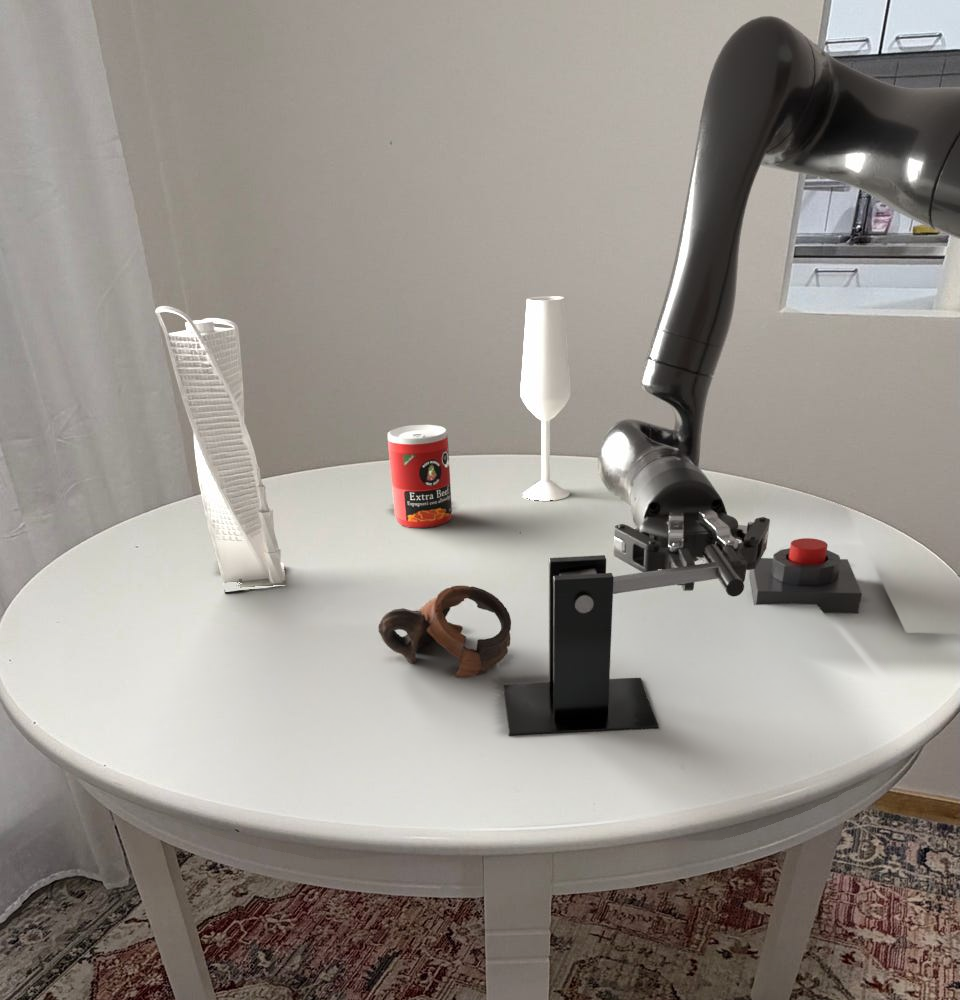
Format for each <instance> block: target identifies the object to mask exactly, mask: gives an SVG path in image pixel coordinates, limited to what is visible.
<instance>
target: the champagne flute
mask: <svg viewBox="0 0 960 1000" xmlns="http://www.w3.org/2000/svg"><path fill="white" fill-rule="evenodd" d="M565 302H566V300H565V297H564V296H559V295H557V296H556V295H544V296H542V295H541V296H534V297H533V296H532V297H528V298H527V299H526V307H525V321H524V322H525V323H524V334H523V335H524V336H523V351H522V352H523V353H522V366H521V380H520V394H519V395H520V398H521V400H522V402H523V404H524V405H525V407H526V408H527V410H528V411H530V412H531V414H532V415H533V416H535V418H537V420H540V422H541V425H540V426H541V427H540V429H541V433H540V434H541V435H540V437H541V439H540V441H541V442H540V443H541V447H540V449H541V454H540V455H541V479H540V481H538V482H537V483H536V484H534V485H532V486H531V487H529V488H528V489H527V490H525V491H523V492H522V494H523V496H522V498H524V499H526V498H528V499H527V500H529V499H530V500H529V501H534V500H539V501H538V502H551V501H550V500H553V501H559V500H562V499H565V498H567V497H569V496H570V491H568V490H567V489H565V488H564V487H562V486H561V485H558V484H557V483H556V482H554V481H552V480H551V420H553V419H554V418H555V417H557V415H558V414H559V413H561V411H562V410H564V408H565V407H566V405H567V403H568V401H569V399H570V397H571V394H572V389H571V388H572V387H571V373H570V358H569V345H568V344H569V343H568V329H567V314H566V303H565Z"/></svg>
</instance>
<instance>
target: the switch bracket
mask: <svg viewBox="0 0 960 1000" xmlns="http://www.w3.org/2000/svg"><path fill="white" fill-rule="evenodd" d="M591 568H595V569H596V572H597V574H579V575H559V574H560V573H564V572H570V571H577V570H584V569H591ZM613 577H614V575H613V573H612V572H607V557H606V555H604V554H602V555H581V556H563V557H562V556H561V557H560V556H559V557H549V558H548V681H545V682H544V681H543V682H541V681H540V682H525V683H523V682H522V683H505V684H503V693H504V703H505V715H506V723H507V724H506V725H507V732H508V733H507V734H508V736H509V737H518V736H519V737H520V736H521V737H522V736H540V735H560V734H579V733H581V734H583V733H599V732H601V733H602V732H618V731H619V732H620V731H621V732H622V731H638V730H640V731H641V730H658V729H660V727H659V723H658V721H657V717H656V715H655V713H654V710H653V707H652V704H651V702H650V699H649V696H648V694H647V691H646V689H645V686H644V682H643V680H642V678H641V677H625V678H624V677H621V678H610V675H611V652H612V649H611V648H612V630H613V629H612V625H613V603H614V601H613V599H614V594H613V580H614V578H613Z"/></svg>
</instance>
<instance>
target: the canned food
mask: <svg viewBox="0 0 960 1000" xmlns="http://www.w3.org/2000/svg"><path fill="white" fill-rule="evenodd" d="M387 445H388V458H389V467H390V478H391V488H392V498H393V499H392V500H393V508H394V516H395V519H396V521H397V523H398V524H400V525H401V526H404V527H407V528H413V529H414V528H415V529H424V528H425V529H426V528H433V527H438V526H441V525H444V524H446V523H448V522H450V520H451V519H452V513H453V508H452V507H453V506H452V488H451V469H450V450H449V435H448V430H447V429H446V428H445V427H443V426H440V425H436V424H411V425H410V424H409V425H405V426H400V427H395V428H393V429H391V430H389V432H387Z"/></svg>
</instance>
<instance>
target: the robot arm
mask: <svg viewBox="0 0 960 1000" xmlns="http://www.w3.org/2000/svg"><path fill="white" fill-rule="evenodd" d="M697 132H698V133H697V138H696V143H695V150H694V155H693V160H692V161H693V162H692V167H691V172H690V173H691V174H690V178H689V183H688V190H687V194H686V199H685V204H684V211H683V215H682V222H681V227H680V231H679V236H678V237H679V238H678V242H677V246H676V252H675V258H674V260H673V261H674V262H673V266H672V270H671V274H670V278H669V281H668V285H667V289H666V292H665V295H664V299H663V303H662V307H661V309H660V312H659V315H658V318H657V321H656V325H655V329H654V332H653V336H652V338H651V341H650V345H649V348H648V351H647V355H646V357H645V359H644V363H643V367H642V371H641V375H640V386H641V389H642V391H644V392H645V393H646V394H647V395H649V396H650V397H652V398H654V399H656V400H657V401H659V402H661V403H663V404H665V405H666V406H667V407H669V408H670V409H671V410H672V412H673V414H674V415H673V416H674V427H673V429H671V428H668V427H664V426H660V425H657V424H654V423H649V422H647V421H643V420H639V419H634V418H625V419H621V420H619V421H617V422H615V423H614V424H613V425H612V426H610V428H609V429H608V430H606V432H605V434H603V435H604V436H603V437H602V439H601V442H600V445H599V448H598V454H597V468H598V469H597V470H598V473H599V477H600V480H601V482H602V484H603V485H604V486H605V488H606V489H607V490H608V491H609V492H610V493H611V494H613V495H614V496H616V497H617V498H618V499H620V500H621V501H623V502H624V503H626V504H627V505H629V506H630V508H631V509H630V510H631V517H632V521H633V524H634V525H635V526H636V527H631V526H629V525H627V524H623V523H621V524H617V525H615V526H614V537H613V556H614V557H615V558H617V559H618V560H621V561H622V562H624V563H625V564H628V565H629V566H631V567H633V568H634V569H636V570H638V571H640V573H642V572H649V571H656V570H663V569H670V568H677V567H684V566H691V565H696V562H697V561H702V562H703V563H707V561H706V560H705V558H704V556H703V551H704V549H705V548H706V547H707V546H708V545H711V544H714V545H717V546H718V548H719V549H720V550H721V552H722V553H723V555H724V556H725V557H726V559H727V560H728V562H729V563H730V565H731V566H732V567H733V569H734V570H735V572H736V573H737V574H738V576H739V577H740V579H741V580H742V582H743V583H745V581H746V576H747V575H746V574H747V571H750V570H752V569H755V568H756V566H757V565H758V563H759V561H760V559H761V558H763V555H764V553H765V551H766V550H767V545H768V538H769V530H770V525H771V524H770V523H771V519H770V518H768V517H765V516H761V517H756V518H755V519H754V520H753V521H748V522H747V525H745V524H739V521H738V519H736V517H734V516H731V515H728V513H727V509H726V506H725V504H724V501H723V499H722V497H721V496H720V494H719V492H718V491H717V490H716V488H715V487H714V485H713V484H712V482H711V481H710V480H709V478H708V477H707V475H706V474H705V473H704V472H703V471H702V470H701V468H699V467H700V458H701V445H702V444H701V443H702V442H701V440H702V431H703V422H704V416H705V415H704V414H705V410H706V404H707V400H708V399H707V398H708V396H709V395H708V394H709V391H710V387H711V383H712V381H713V378H714V377H713V376H714V375H715V372H716V369H717V366H718V364H719V361H720V358H721V355H722V353H723V349H724V347H725V344H726V341H727V338H728V335H729V332H730V328H731V324H732V319H733V315H734V310H735V303H736V296H737V295H736V294H737V283H738V272H739V271H738V268H739V253H740V243H741V236H742V235H741V234H742V229H743V224H744V219H745V218H744V217H745V213H746V209H747V206H748V201H749V198H750V194H751V192H752V188H753V185H754V183H755V179H756V177H757V174H758V172H759V170H760V167H761V166H762V167H767V168H771V169H777V170H782V171H787V172H793V173H799V174H803V175H808V176H809V175H810V176H814V177H816V178H817V177H818V178H822V179H826V180H830V181H835V182H838V183H842V184H845V185H849V186H851V187H854V188H856V189H858V190H860V191H862V192H864V193H865V194H868V195H869V196H870V197H872V198H873V199H875V200H877V201H878V202H880V203H882V204H883V205H884V206H886V207H888V208H890V209H891V210H893V211H895V212H897V213H899V214H901V215H903V216H905V217H907V218H909V219H911V220H913V221H915V222H917V223H919V224H921V225H923V226H925V227H927V228H930V229H933V230H934V231H938V232H940V233H942V234H945V235H948V236H951V237H953V238H955V239H958V240H960V86H941V87H940V86H939V87H937V86H936V87H917V88H916V87H915V88H913V87H903V86H898V85H894V84H891V83H889V82H886V81H881V80H880V79H877V78H875V77H873V76H870V75H869V74H866V73H864V72H862V71H859V70H857V69H855V68H853V67H851V66H848V65H847V64H845V63H843V62H841V61H839V60H838V59H837V58H835V57H833V56H832V55H831V54H829V53H828V52H827V51H826V50H824V49H823V48H822V47H820V46H819V45H818V44H817V43H815V42H813V41H812V40H811V39H809V37H807V36H806V35H805V34H804V33H802V32H801V31H800V30H799V29H797V28H796V27H795V26H794V25H792V24H790V23H789V22H787V21H786V20H784V19H782V18H780V17H778V16H773V15H763V16H762V15H761V16H759V17H755V18H752V19H751V20H749V21H747V22H746V23H744V24H742V25H740V27H739V28H737V30H735V31H734V32H733V33H732V34H731V36H730V37H729V38H728V39H727V41H726V42H725V43H724V44H723V46H722V48H721V50H720V52H719V54H718V55H717V58H716V60H715V62H714V64H713V66H712V70H711V72H710V76H709V79H708V83H707V86H706V91H705V94H704V99H703V105H702V109H701V115H700V120H699V126H698V131H697ZM677 586H681V589H682V590H683V592H687V591H694V588H695V582H692V583H685V584H678V585H677Z"/></svg>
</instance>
